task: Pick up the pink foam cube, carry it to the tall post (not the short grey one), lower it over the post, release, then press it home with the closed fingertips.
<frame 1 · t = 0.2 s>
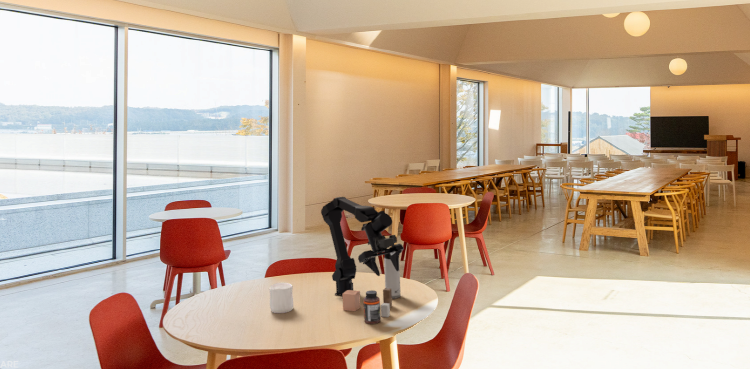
hand: (388, 273, 224), 14 cm above the table, tool tilted 30°, fingers open, 9 cm apart
cup: (281, 310, 231), on the table
pink foam cube: (351, 308, 229), on the table
travel mug: (393, 297, 243), on the table
post: (387, 306, 230), on the table
short post: (385, 315, 219), on the table
supplement bottle: (372, 322, 213), on the table
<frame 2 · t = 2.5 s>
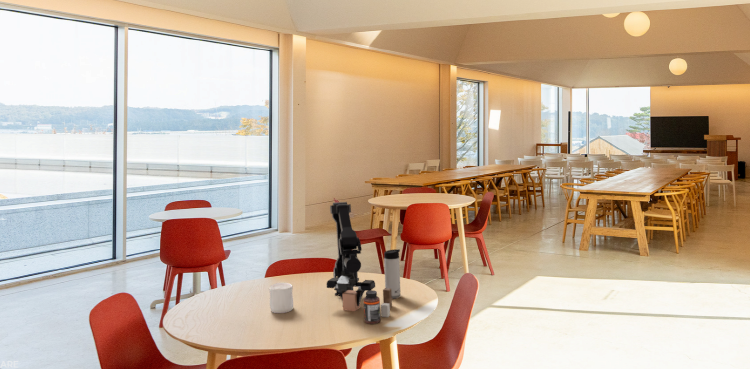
hand: (351, 305, 229), 1 cm above the table, tool pointing down, fingers closed on pink foam cube, 5 cm apart
pink foam cube: (351, 308, 229), on the table, touching gripper
everything else where it was.
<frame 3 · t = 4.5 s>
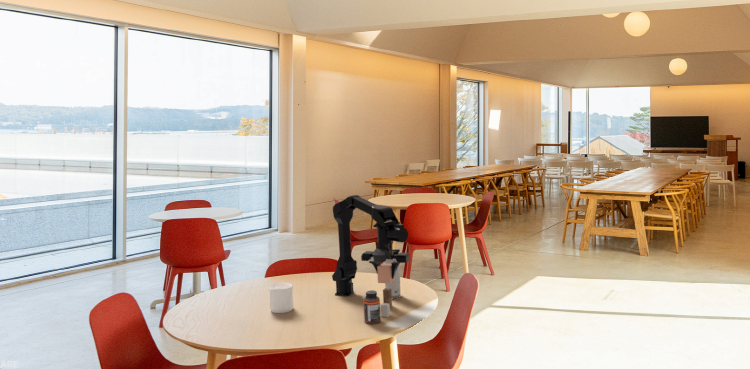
hand: (386, 278, 229), 11 cm above the table, tool pointing down, fingers closed on pink foam cube, 5 cm apart
pink foam cube: (386, 281, 229), point 10 cm above the table, touching gripper
everything else where it was.
when the fingers open (3 cm above the table, at t = 6.4 s): pink foam cube stays where it is, resting on post.
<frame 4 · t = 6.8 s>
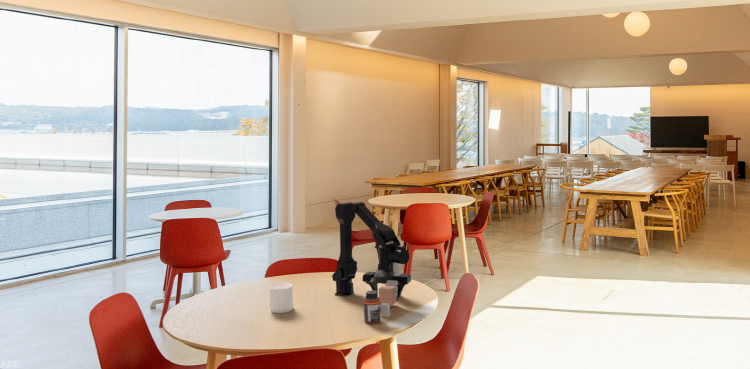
hand: (387, 299, 230), 3 cm above the table, tool pointing down, fingers open, 9 cm apart
pink foam cube: (387, 304, 230), point 1 cm above the table, touching post
everything else where it was.
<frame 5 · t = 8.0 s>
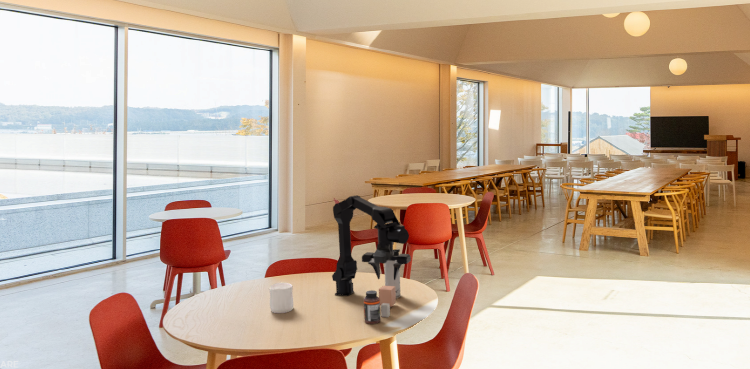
hand: (386, 279, 229), 11 cm above the table, tool pointing down, fingers open, 6 cm apart
nothing on the table moved.
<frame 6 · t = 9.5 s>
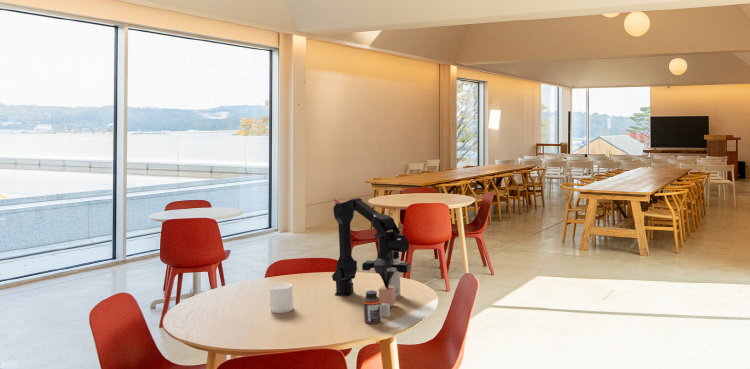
hand: (387, 287, 229), 8 cm above the table, tool pointing down, fingers closed
nothing on the table moved.
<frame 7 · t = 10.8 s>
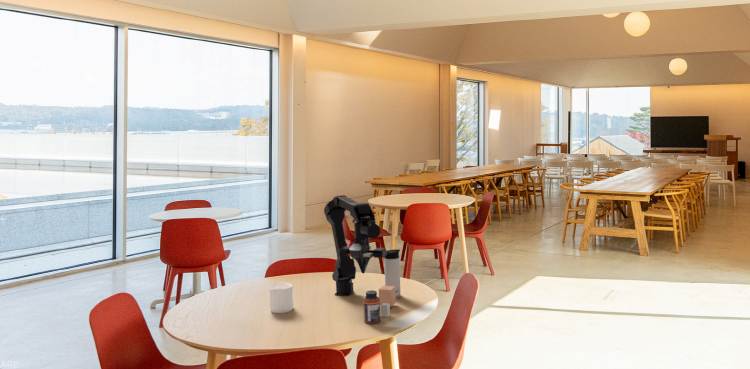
hand: (363, 273, 232), 13 cm above the table, tool pointing down, fingers closed
nothing on the table moved.
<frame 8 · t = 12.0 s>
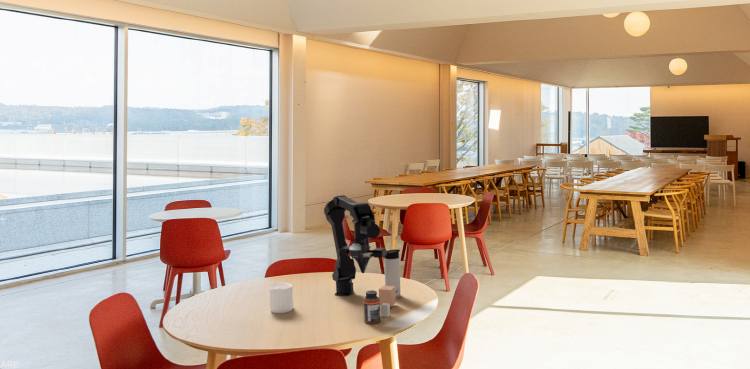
hand: (363, 273, 232), 13 cm above the table, tool pointing down, fingers closed
nothing on the table moved.
at the end: pink foam cube 0.1 cm from the post (horizontally); pink foam cube point 1.0 cm above the table; the gripper is holding nothing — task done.
